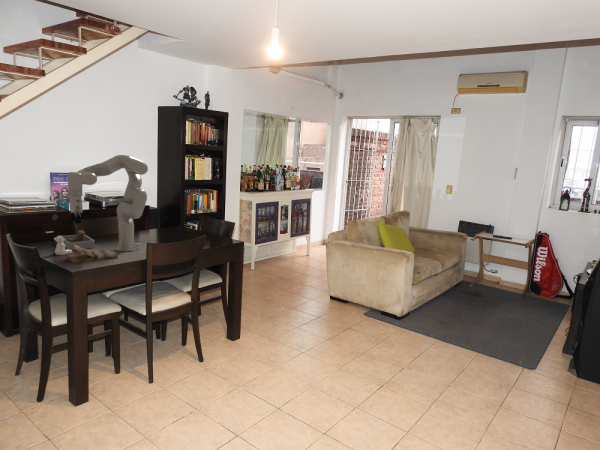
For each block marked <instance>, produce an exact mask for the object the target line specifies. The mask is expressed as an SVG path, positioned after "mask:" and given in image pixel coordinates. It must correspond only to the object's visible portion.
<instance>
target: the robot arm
mask: <svg viewBox="0 0 600 450" xmlns="http://www.w3.org/2000/svg"><path fill="white" fill-rule="evenodd" d="M121 169H124V170H125V172H126V173H127V176H128V182H127V186H126V187H125V191H124V193H123V199H124V201H127V202H122V203H120V204H119V205H118V206H116V216H117V219H118V222H117V223H118V246H117V247H116V249H115V250H116V251H118V252H134V251H136V250H137V247H141V246H142V243H141V242H135V224H134V223H135V222H134V220H136V219H140V218H141V217H142V216H143V212H144V209H145V207H146V202H147V200H148V194H147V191H145V189H143V188H142V184H143V182H142V181H143V180H142V176H143V175H145V174H147V172H148V171H149V167H148V165H147V163H146V162H145V161H142V160H140V159H137V158H135V157H133V156H131V155H127V154H126V155H125V154H118V155H115V156H112V157H111V158H109V159H106V160H105V161H102V162H100V163H96V164H92V165H90V166H89V165H88V166H87V167H84V168H81V169H80V170H78V171H75V172H72V171H70V172H68V173H67V196H68V197H69V211H70V213H69V214H70V219H69V220H70V222H74V224H76V225H77V224H79V225H80V224H82V213H83V199H82V197H83V185H88V186H91V185H95V184H96V183H97V181H98V177H105V176H110V175H112V174H114V173H116V172H117V171H120V170H121ZM128 202H129V203H128Z"/></svg>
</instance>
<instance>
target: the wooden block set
mask: <svg viewBox="0 0 600 450" xmlns="http://www.w3.org/2000/svg"><path fill="white" fill-rule="evenodd" d="M85 233H86V232H85V231H84V230H81V229H79V230H78V232H77V234H76V235H77V238H74V237H72V238H67V241H69V242H81V241H82V240H83V237H84V234H85ZM85 235H86V234H85Z"/></svg>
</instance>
